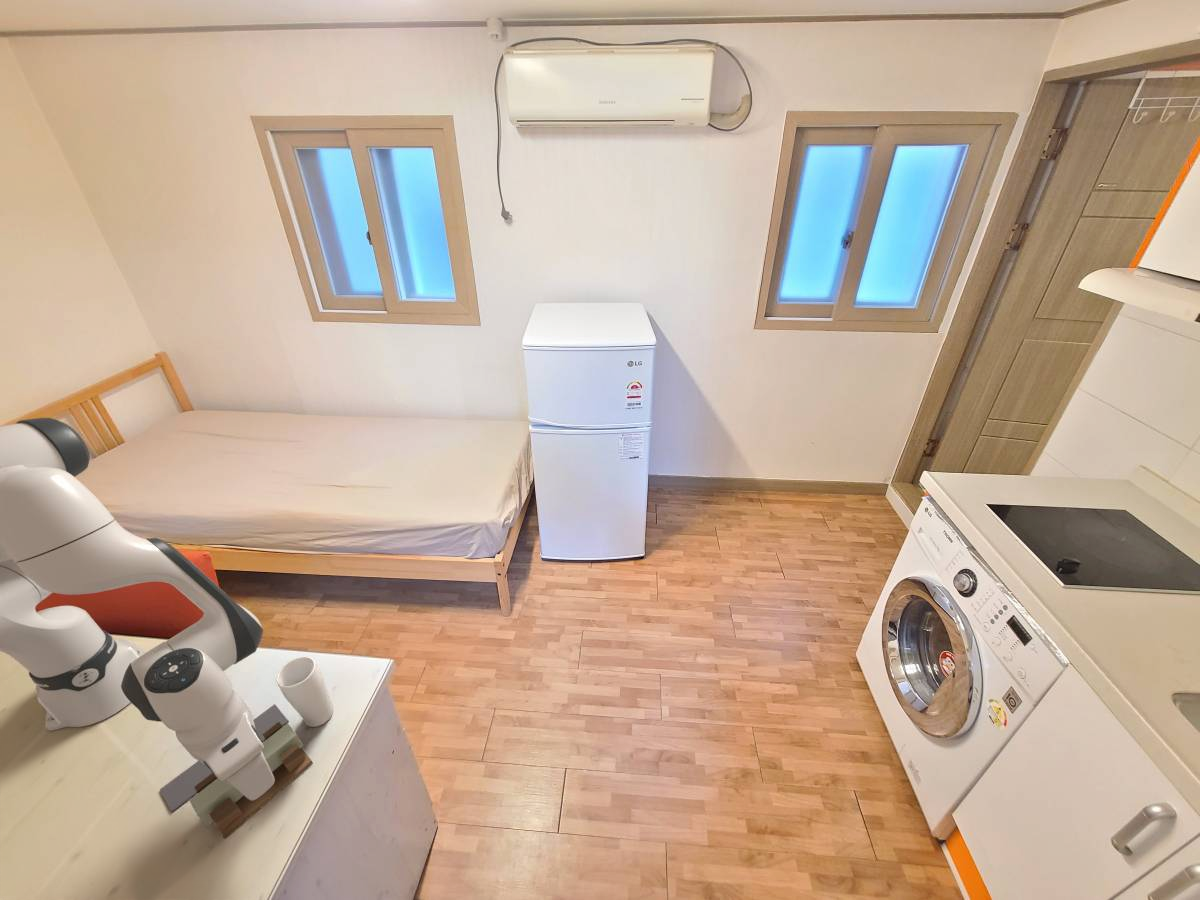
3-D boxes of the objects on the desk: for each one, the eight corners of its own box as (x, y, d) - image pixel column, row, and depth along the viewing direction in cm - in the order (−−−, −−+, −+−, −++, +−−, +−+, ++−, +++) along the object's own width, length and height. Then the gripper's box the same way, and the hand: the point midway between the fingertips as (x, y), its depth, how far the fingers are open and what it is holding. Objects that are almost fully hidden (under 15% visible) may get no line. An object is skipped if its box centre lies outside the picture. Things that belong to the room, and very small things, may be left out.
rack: (207, 807, 86) (190, 789, 83) (293, 737, 97) (281, 719, 93) (225, 838, 82) (208, 821, 79) (312, 762, 93) (301, 744, 89)
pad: (160, 790, 89) (160, 789, 89) (275, 704, 102) (274, 703, 102) (172, 812, 86) (171, 811, 86) (288, 721, 99) (288, 720, 99)
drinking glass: (332, 693, 104) (310, 649, 97) (342, 716, 100) (320, 672, 92) (298, 714, 101) (272, 669, 93) (306, 739, 96) (280, 695, 88)
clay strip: (207, 825, 81) (197, 814, 79) (199, 811, 83) (189, 800, 81) (303, 745, 92) (296, 734, 90) (294, 734, 94) (287, 723, 92)
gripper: (173, 705, 83) (207, 748, 90) (221, 784, 72) (256, 825, 79) (215, 678, 87) (245, 721, 94) (266, 749, 77) (295, 791, 84)
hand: (250, 769), depth 87 cm, fingers open, 6 cm apart
